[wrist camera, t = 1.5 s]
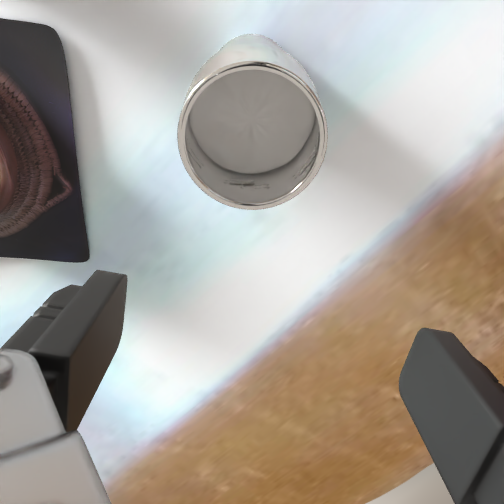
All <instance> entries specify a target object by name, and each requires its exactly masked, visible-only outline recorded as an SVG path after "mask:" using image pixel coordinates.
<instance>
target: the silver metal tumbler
mask: <svg viewBox="0 0 504 504" xmlns="http://www.w3.org/2000/svg"><path fill="white" fill-rule="evenodd" d="M177 138H178V148H179V152H180V156H181V159H182V162H183V165H184V167H185V169H186V171H187V173H188V174H189V176H190V177H191V179H192V180H193V181H194V183H195V184H196V185H197V186H198V187H199V188H200V189H201V190H202V191H203V192H204V193H206V194H207V195H208V196H210V197H211V198H213V199H215V200H216V201H218V202H220V203H222V204H225V205H228V206H231V207H234V208H239V209H247V210H258V209H266V208H270V207H274V206H277V205H280V204H282V203H285V202H287V201H288V200H290V199H292V198H294V197H295V196H296V195H298V194H299V193H300V192H302V191H303V190H304V189H305V188H306V187H307V186H308V185H309V184H310V182H311V181H312V180H313V179H314V177H315V176H316V174H317V172H318V171H319V169H320V167H321V164H322V162H323V159H324V156H325V152H326V148H327V139H328V131H327V122H326V117H325V114H324V111H323V108H322V106H321V102H320V99H319V96H318V93H317V90H316V88H315V86H314V84H313V82H312V80H311V78H310V76H309V75H308V73H307V72H306V70H305V69H304V68H303V67H302V66H301V64H300V63H299V62H298V61H297V60H296V59H295V58H294V57H292V56H291V55H290V54H289V53H287V52H286V51H284V50H283V49H282V48H281V47H280V46H279V45H278V44H277V43H276V42H275V41H273V40H272V39H270V38H268V37H265V36H263V35H258V34H244V35H240V36H237V37H235V38H233V39H231V40H230V41H228V42H227V43H226V44H225V45H224V46H223V47H222V48H221V49H220V50H219V51H218V52H217V53H215V54H214V55H213V56H212V57H211V58H209V59H208V60H207V61H206V63H205V64H204V65H203V66H202V67H201V68H200V69H199V71H198V72H197V74H196V75H195V77H194V79H193V81H192V83H191V85H190V87H189V89H188V92H187V94H186V97H185V101H184V105H183V108H182V111H181V114H180V118H179V123H178V133H177Z"/></svg>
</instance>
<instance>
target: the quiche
mask: <svg viewBox="0 0 504 504" xmlns="http://www.w3.org/2000/svg"><path fill="white" fill-rule="evenodd" d="M0 257H10V258H27V259H40V260H51V261H62V262H86V261H87V260H88V259H89V248H88V241H87V234H86V227H85V221H84V214H83V207H82V200H81V192H80V183H79V175H78V166H77V157H76V149H75V140H74V131H73V122H72V113H71V104H70V95H69V86H68V77H67V69H66V62H65V57H64V51H63V47H62V43H61V41H60V38H59V36H58V34H57V33H56V31H55V30H54V29H53V28H51V27H49V26H47V25H43V24H37V23H30V22H23V21H16V20H8V19H1V18H0Z"/></svg>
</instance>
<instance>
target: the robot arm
mask: <svg viewBox="0 0 504 504" xmlns="http://www.w3.org/2000/svg"><path fill="white" fill-rule="evenodd" d="M126 292H127V275H125V274H119V273H113V272H107V271H102V270H96V271H95V272H94V273H93V274H92V276H91V277H90V278H89V279H88V280H87V282H86V283H85V284H84V285H83V286H77V285H69V286H67V287H65V288H63V289H61V290H58V291H56V292H54V293H53V294H52V295H51V296H50V297H49V298H48V299H47V300H46V301H45V302H44V303H43V306H41V307H40V308H39V309H38V310H37V311H36V312H35V313H34V315H33V316H31V317H30V318H29V319H28V320H27V321H26V322H25V323H24V324H23V325H22V326H21V327H20V328H19V329H18V331H17V332H16V333H15V334H14V335H13V336H12V337H11V338H10V339H9V340H8V341H7V342H6V343H5V344H4V345H3V346H2V347H1V348H0V504H111V502H110V499H109V497H108V495H107V493H106V490H105V488H104V486H103V483H102V481H101V479H100V477H99V474H98V472H97V470H96V467H95V465H94V463H93V461H92V458H91V456H90V454H89V451H88V449H87V447H86V445H85V442H84V440H83V438H82V436H81V435H80V433H79V432H78V431H77V428H78V426H79V424H80V422H81V420H82V418H83V416H84V414H85V412H86V410H87V408H88V407H89V405H90V403H91V401H92V399H93V397H94V395H95V393H96V391H97V389H98V387H99V385H100V383H101V381H102V379H103V377H104V375H105V373H106V371H107V369H108V367H109V365H110V363H111V361H112V359H113V357H114V355H115V353H116V351H117V348H118V346H119V343H120V339H121V335H122V330H123V322H124V312H125V302H126ZM399 391H400V395H401V398H402V400H403V402H404V404H405V406H406V408H407V410H408V412H409V414H410V416H411V418H412V420H413V421H414V423H415V425H416V427H417V429H418V431H419V433H420V435H421V437H422V439H423V441H424V443H425V445H426V447H427V449H428V451H429V453H430V455H431V457H432V459H433V461H434V463H435V465H436V467H437V469H438V471H439V473H440V475H441V477H442V479H443V481H444V483H445V485H446V487H447V489H448V491H449V493H450V495H451V497H452V499H453V501H454V503H455V504H504V386H503V385H502V384H500V383H498V380H497V378H496V377H495V376H494V375H493V374H492V373H491V371H490V370H489V369H488V368H487V367H486V366H485V365H483V364H482V363H481V362H480V361H478V360H477V359H476V358H474V357H473V356H472V355H471V354H470V353H469V351H468V350H467V349H466V348H465V347H464V346H463V344H462V343H461V342H460V341H459V340H458V338H457V337H456V336H455V335H454V334H453V333H451V332H446V331H440V330H435V329H429V328H422V329H420V330H419V331H418V333H417V335H416V337H415V339H414V342H413V344H412V347H411V349H410V351H409V354H408V356H407V359H406V361H405V364H404V366H403V369H402V371H401V374H400V378H399Z"/></svg>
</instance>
